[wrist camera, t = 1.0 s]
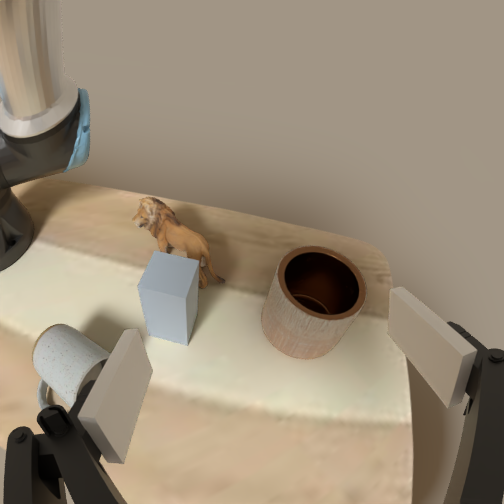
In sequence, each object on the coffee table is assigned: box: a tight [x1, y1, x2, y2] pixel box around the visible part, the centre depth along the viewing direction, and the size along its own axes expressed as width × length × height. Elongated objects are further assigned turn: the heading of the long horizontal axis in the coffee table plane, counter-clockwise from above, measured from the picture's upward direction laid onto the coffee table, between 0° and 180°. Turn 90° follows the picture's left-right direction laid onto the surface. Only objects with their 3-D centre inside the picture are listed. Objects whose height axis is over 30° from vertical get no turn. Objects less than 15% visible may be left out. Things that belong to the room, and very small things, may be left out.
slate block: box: [138, 251, 199, 346], centre depth 35 cm, size 5×5×10 cm
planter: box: [262, 246, 367, 359], centre depth 38 cm, size 11×11×10 cm
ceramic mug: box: [32, 324, 111, 410], centre depth 27 cm, size 11×8×8 cm
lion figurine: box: [132, 197, 225, 288], centre depth 42 cm, size 15×5×9 cm, turn 63°
